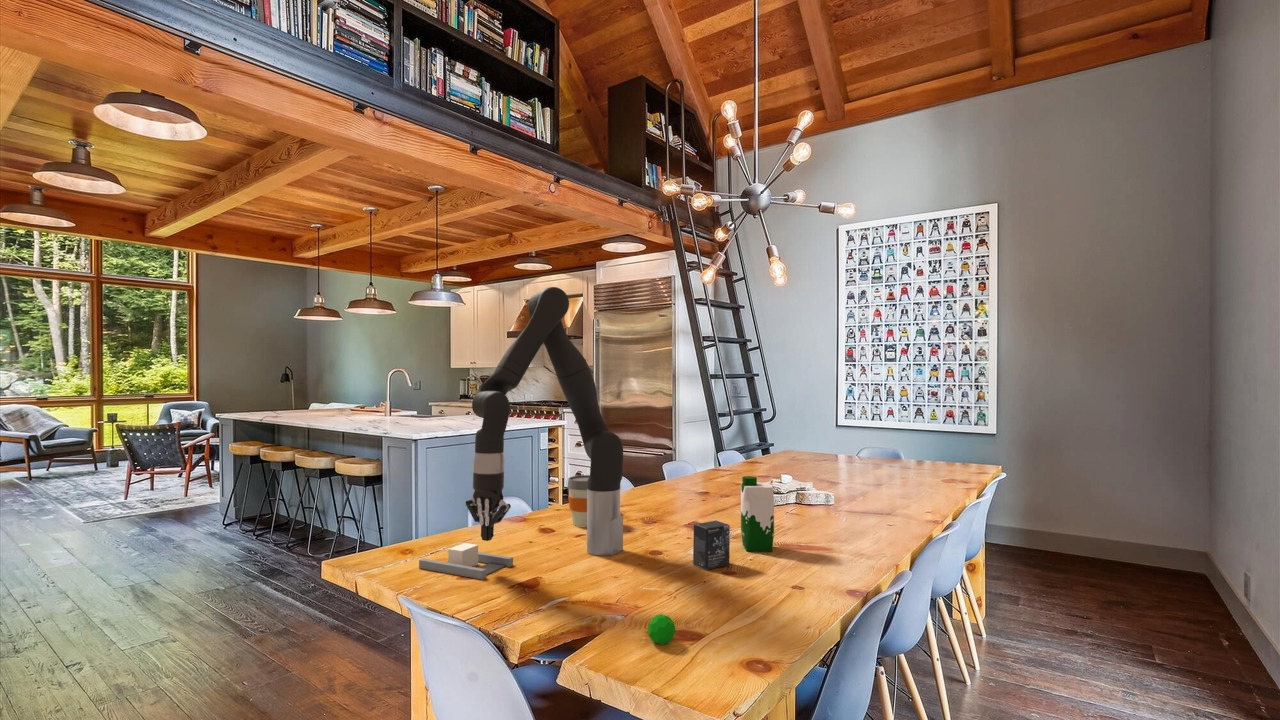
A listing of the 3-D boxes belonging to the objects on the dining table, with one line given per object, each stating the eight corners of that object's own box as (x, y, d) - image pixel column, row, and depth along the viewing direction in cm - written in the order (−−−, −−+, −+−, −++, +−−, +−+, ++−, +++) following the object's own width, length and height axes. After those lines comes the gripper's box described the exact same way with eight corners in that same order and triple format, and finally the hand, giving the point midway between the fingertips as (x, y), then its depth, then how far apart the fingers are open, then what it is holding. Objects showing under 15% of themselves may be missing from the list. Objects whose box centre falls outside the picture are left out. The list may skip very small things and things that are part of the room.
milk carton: (739, 544, 174) (738, 474, 174) (770, 544, 173) (770, 474, 174) (743, 552, 165) (743, 479, 165) (776, 553, 165) (776, 480, 165)
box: (706, 570, 149) (706, 528, 150) (692, 565, 154) (692, 523, 154) (730, 565, 154) (730, 524, 154) (715, 559, 158) (715, 519, 159)
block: (478, 564, 154) (478, 545, 155) (462, 571, 149) (462, 551, 149) (464, 562, 156) (464, 542, 157) (448, 568, 151) (448, 548, 151)
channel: (512, 565, 153) (513, 557, 154) (481, 579, 143) (482, 571, 143) (452, 555, 162) (452, 547, 162) (419, 568, 151) (419, 560, 151)
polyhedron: (659, 651, 105) (659, 624, 106) (642, 641, 109) (642, 615, 110) (680, 644, 108) (680, 617, 108) (664, 634, 112) (664, 608, 112)
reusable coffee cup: (608, 519, 203) (608, 475, 203) (602, 529, 190) (602, 481, 191) (571, 518, 204) (571, 474, 205) (563, 528, 192) (563, 481, 192)
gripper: (519, 470, 151) (517, 540, 150) (478, 466, 157) (476, 533, 156) (500, 474, 144) (498, 547, 143) (458, 470, 150) (455, 540, 149)
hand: (486, 539), depth 150 cm, fingers closed
